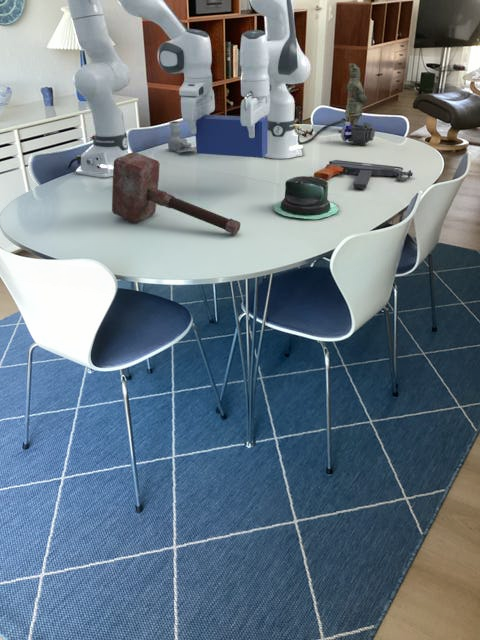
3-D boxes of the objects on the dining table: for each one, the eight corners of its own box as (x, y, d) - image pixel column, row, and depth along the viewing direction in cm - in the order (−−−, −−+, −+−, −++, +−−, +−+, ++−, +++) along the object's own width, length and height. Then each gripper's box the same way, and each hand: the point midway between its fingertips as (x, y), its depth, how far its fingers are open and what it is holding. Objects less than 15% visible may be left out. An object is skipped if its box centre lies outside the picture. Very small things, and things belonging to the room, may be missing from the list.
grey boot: (176, 119, 242) (200, 124, 233) (178, 147, 248) (202, 152, 239) (161, 122, 236) (185, 127, 227) (163, 150, 242) (187, 156, 234)
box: (196, 153, 187) (194, 118, 181) (203, 149, 192) (201, 114, 186) (262, 157, 180) (262, 121, 174) (267, 153, 185) (267, 117, 179)
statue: (367, 132, 266) (374, 63, 251) (349, 133, 264) (355, 64, 249) (357, 127, 275) (362, 61, 260) (339, 129, 273) (344, 62, 258)
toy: (345, 120, 249) (377, 123, 242) (343, 139, 253) (375, 143, 246) (337, 123, 243) (369, 127, 236) (336, 143, 247) (367, 147, 240)
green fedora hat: (344, 197, 179) (337, 220, 163) (293, 220, 188) (282, 244, 171) (324, 156, 174) (314, 175, 157) (272, 181, 182) (259, 202, 166)
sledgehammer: (250, 194, 153) (132, 150, 165) (234, 205, 146) (112, 158, 158) (240, 249, 164) (129, 203, 175) (224, 261, 156) (110, 213, 168)
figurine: (302, 128, 254) (260, 115, 266) (300, 145, 258) (258, 131, 270) (318, 123, 263) (276, 111, 275) (315, 139, 267) (274, 127, 279)
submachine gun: (306, 175, 196) (332, 158, 214) (306, 183, 197) (332, 166, 216) (396, 187, 182) (415, 168, 201) (395, 195, 183) (414, 175, 202)
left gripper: (201, 81, 188) (202, 123, 195) (176, 90, 171) (178, 136, 178) (219, 82, 186) (219, 125, 193) (195, 91, 170) (197, 138, 177)
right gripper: (254, 95, 164) (255, 142, 171) (273, 84, 180) (273, 128, 188) (234, 94, 166) (236, 142, 173) (255, 84, 182) (255, 127, 189)
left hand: (199, 130), depth 186 cm, fingers open, 8 cm apart
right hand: (255, 134), depth 180 cm, fingers closed on box, 6 cm apart
